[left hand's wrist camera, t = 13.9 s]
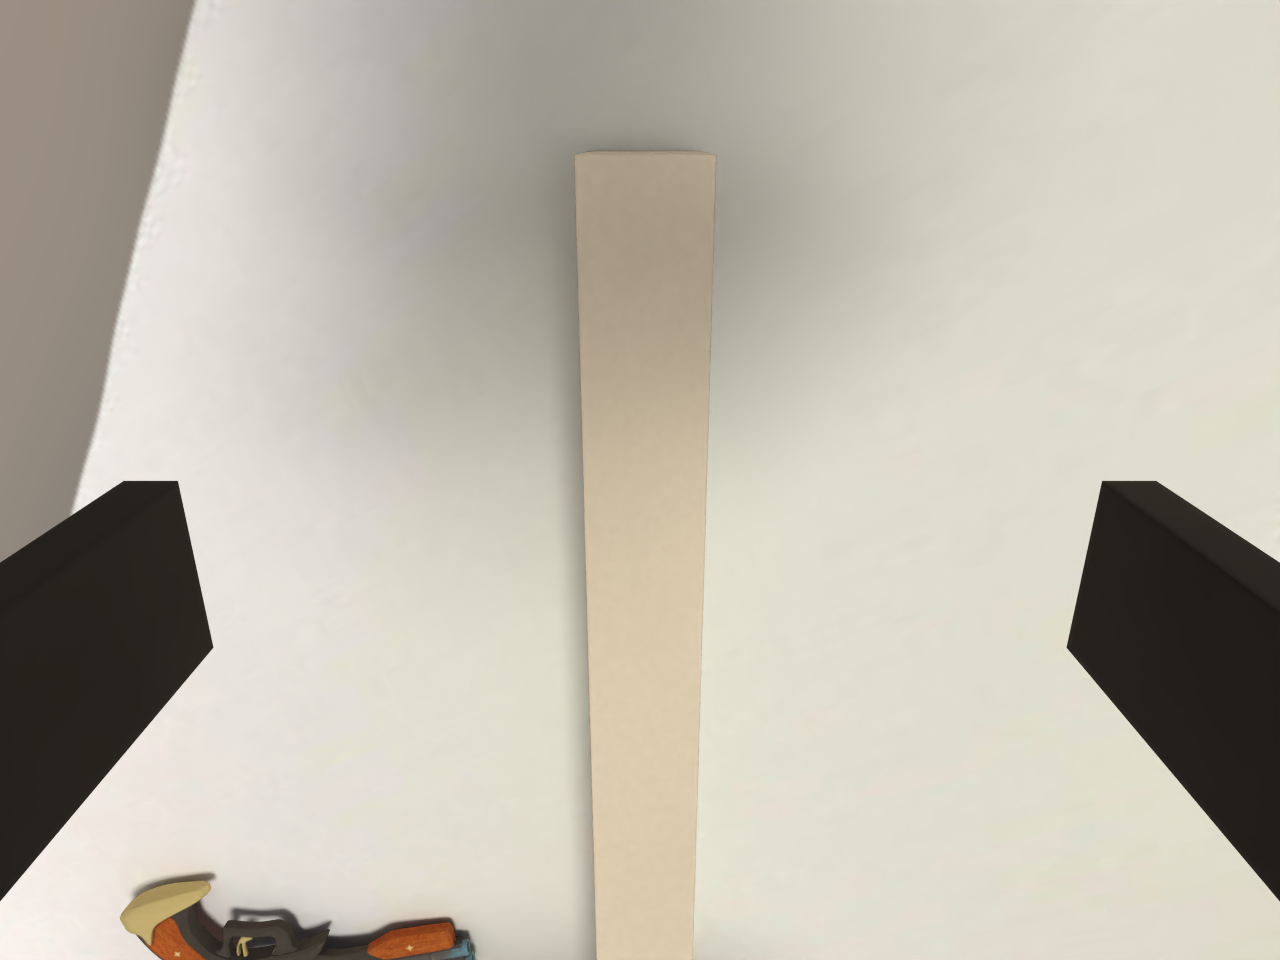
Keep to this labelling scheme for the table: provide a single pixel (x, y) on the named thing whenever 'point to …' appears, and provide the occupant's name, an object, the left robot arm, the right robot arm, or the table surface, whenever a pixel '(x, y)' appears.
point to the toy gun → (267, 934)
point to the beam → (644, 529)
